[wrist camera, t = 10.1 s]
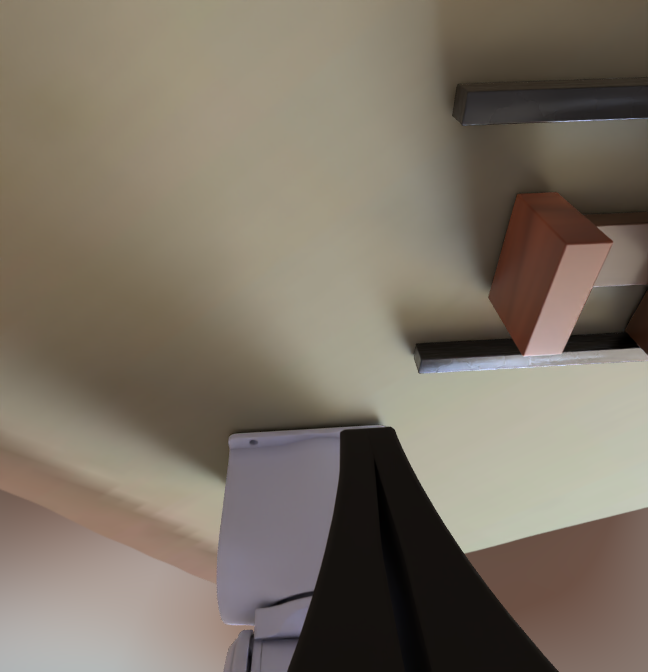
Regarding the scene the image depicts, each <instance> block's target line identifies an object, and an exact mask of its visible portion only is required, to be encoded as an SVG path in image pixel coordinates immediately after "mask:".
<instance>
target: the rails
mask: <svg viewBox="0 0 648 672" xmlns="http://www.w3.org/2000/svg"><path fill="white" fill-rule="evenodd" d="M452 116H453V117H454V118H455V119H456V120H457V121H458V122H459V123H460V124H461V125H463V126H468V125H494V124H520V123H546V122H572V121H598V120H624V119H648V77H641V78H613V79H584V80H556V81H528V82H499V83H471V84H458V85H457V89H456V96H455V102H454V108H453V114H452ZM414 360H415V363H416V366H417V370H418V373H438V372H456V371H473V370H491V369H509V368H527V367H544V366H562V365H580V364H598V363H615V362H633V361H648V355H647V354H646V353H645V352H644V351H643V350H642V349H641V348H640V347H639V346H638V344H637V343H636V342H635V341H634V340H633V339H632V338H631V337H630V336H629V334H628V333H627V332H624V333H606V334H588V335H570V337H569V339H568V341H567V344H566V346H565V348H564V350H563V352H562V354H556V355H538V356H522V354H521V352H520V351H519V349H518V347H517V346H516V344H515V342H514V341H513V339H495V340H477V341H458V342H440V343H421V344H416V347H415V353H414Z"/></svg>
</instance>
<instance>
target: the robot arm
mask: <svg viewBox="0 0 648 672" xmlns="http://www.w3.org/2000/svg"><path fill="white" fill-rule="evenodd" d="M228 444H229V448H230V454H229V462H228V470H227V478H226V486H225V494H224V502H223V510H222V518H221V526H220V534H219V543H218V555H217V598H218V605H219V612H220V616H221V619H222V621H223V622H224V623H225V624H228V625H253V626H255V627H254V632H253V630H243V631H241V632H240V633H239V635H238V638H237V639H236V640H235V641H234V642H233V643H232V644H231V646H230V647H229V649H228V652H227V656H226V661H225V666H224V672H559V671H558V670H557V669H556V668H555V667H554V666H553V665H552V664H551V663H550V661H548V659H547V658H546V657H545V656H544V655H543V653H542V652H541V651H540V650H539V649H538V647H536V645H535V644H534V643H533V642H532V641H531V639H530V638H529V637H528V636H527V635H526V633H525V632H524V631H523V630H522V629H521V627H520V626H519V625H518V624H517V622H515V620H514V619H513V618H512V617H511V615H510V614H509V613H508V612H507V610H506V609H505V608H504V607H503V605H502V604H501V603H500V602H499V600H498V599H497V598H496V596H495V595H494V594H493V593H492V591H491V590H490V589H489V587H488V586H487V585H486V583H485V582H484V581H483V579H482V578H481V577H480V575H479V574H478V572H477V571H476V570H475V568H474V567H473V566H472V564H471V563H470V562H469V560H468V559H467V557H466V556H465V554H464V553H463V551H462V550H461V548H460V547H459V546H458V544H457V543H456V541H455V539H454V538H453V536H452V535H451V533H450V532H449V530H448V529H447V527H446V526H445V524H444V523H443V521H442V519H441V518H440V516H439V515H438V513H437V511H436V510H435V508H434V506H433V504H432V503H431V501H430V499H429V498H428V496H427V494H426V493H425V491H424V489H423V487H422V486H421V484H420V482H419V480H418V478H417V476H416V475H415V473H414V471H413V469H412V467H411V465H410V463H409V461H408V459H407V457H406V455H405V453H404V451H403V449H402V446H401V444H400V442H399V440H398V437H397V435H396V432H395V430H394V429H393V428H392V427H385V426H383V425H369V426H352V427H336V428H319V429H302V430H286V431H269V432H252V433H236V434H232V435H230V437H229V441H228Z"/></svg>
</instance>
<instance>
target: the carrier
mask: <svg viewBox="0 0 648 672" xmlns="http://www.w3.org/2000/svg"><path fill="white" fill-rule="evenodd" d="M645 284H648V212H630V213H608V214H585V215H582V214H581V213H580V212H579V211H578V210H577V209H576V208H574V207H573V206H572V205H571V204H570V203H569V202H567V201H566V200H565V199H564V198H563V197H562V196H560V195H559V194H558V193H557V192H548V193H525V194H517V197H516V200H515V204H514V207H513V211H512V214H511V218H510V222H509V225H508V229H507V232H506V236H505V239H504V243H503V247H502V250H501V254H500V257H499V261H498V265H497V268H496V272H495V275H494V279H493V282H492V286H491V290H490V293H489V297H488V298H489V300H490V302H491V303H492V305H493V307H494V308H495V310H496V312H497V313H498V315H499V317H500V319H501V320H502V322H503V324H504V325H505V327H506V329H507V330H508V332H509V334H510V335H511V337H512V339H513V341H514V342H515V344H516V346H517V347H518V349H519V351H520V352H521V354H522V356H538V355H556V354H562V352H563V350H564V348H565V346H566V344H567V341H568V339H569V337H570V335H571V333H572V331H573V328H574V326H575V324H576V322H577V320H578V318H579V315H580V313H581V311H582V309H583V307H584V305H585V303H586V300H587V298H588V296H589V294H590V292H591V290H592V287H605V286H625V285H645ZM625 331H626V332H627V333H628V334H629V336H630V337H631V338H632V339H633V340H634V341H635V342H636V343H637V344H638V346H639V347H640V348H641V349H642V350H643V351H644V352H645V353H646V354H647V355H648V290H647V292H646V294H645V295H644V297H643V299H642V301H641V302H640V304H639V306H638V308H637V309H636V311H635V313H634V315H633V317H632V318H631V320H630V322H629V324H628V325H627V327H626V329H625Z"/></svg>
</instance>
